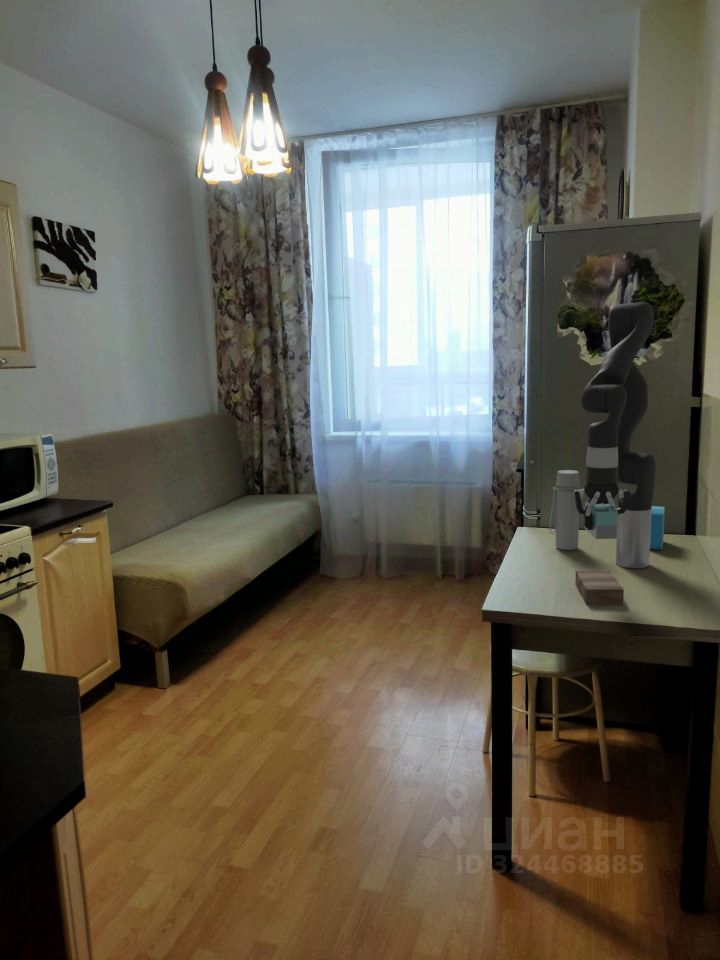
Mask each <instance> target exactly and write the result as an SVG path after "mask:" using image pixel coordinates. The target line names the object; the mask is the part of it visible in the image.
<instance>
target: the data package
mask: <svg viewBox="0 0 720 960" xmlns="http://www.w3.org/2000/svg"><path fill="white" fill-rule="evenodd" d="M665 513H666V509H665V506H657V505H655V506H654V505H652V511H651V536H650V550H654V551H655V550H656V551H662V550H663V547H664V534H665V533H664V531H665Z"/></svg>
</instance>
